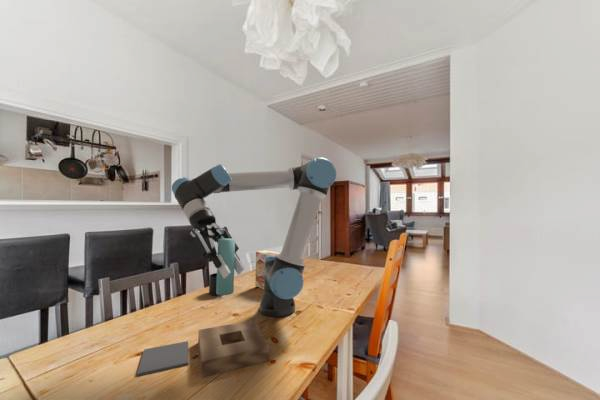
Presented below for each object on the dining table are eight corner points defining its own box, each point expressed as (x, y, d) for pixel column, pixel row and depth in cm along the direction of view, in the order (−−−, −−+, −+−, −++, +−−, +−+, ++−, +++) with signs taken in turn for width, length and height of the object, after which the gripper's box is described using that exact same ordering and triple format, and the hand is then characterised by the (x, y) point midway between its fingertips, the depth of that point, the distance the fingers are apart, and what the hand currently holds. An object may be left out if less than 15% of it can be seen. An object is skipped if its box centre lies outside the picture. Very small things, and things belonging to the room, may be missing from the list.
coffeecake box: (254, 287, 137) (255, 251, 137) (264, 284, 142) (265, 249, 143) (274, 293, 127) (274, 254, 128) (283, 290, 133) (284, 253, 133)
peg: (231, 289, 79) (233, 238, 80) (234, 294, 75) (236, 240, 75) (215, 290, 77) (217, 238, 78) (217, 296, 73) (219, 240, 73)
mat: (188, 342, 80) (188, 341, 80) (188, 364, 69) (188, 362, 69) (144, 351, 75) (144, 349, 75) (136, 376, 64) (136, 373, 64)
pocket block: (253, 331, 88) (253, 320, 88) (269, 360, 71) (269, 346, 71) (198, 342, 80) (198, 329, 80) (201, 377, 64) (201, 361, 64)
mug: (217, 298, 119) (217, 279, 119) (205, 292, 127) (206, 274, 127) (234, 294, 125) (235, 276, 126) (222, 288, 134) (223, 271, 134)
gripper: (215, 222, 92) (248, 274, 83) (168, 224, 77) (202, 288, 68) (226, 208, 90) (261, 260, 81) (180, 207, 74) (216, 272, 65)
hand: (234, 273), depth 74 cm, fingers closed on peg, 5 cm apart
